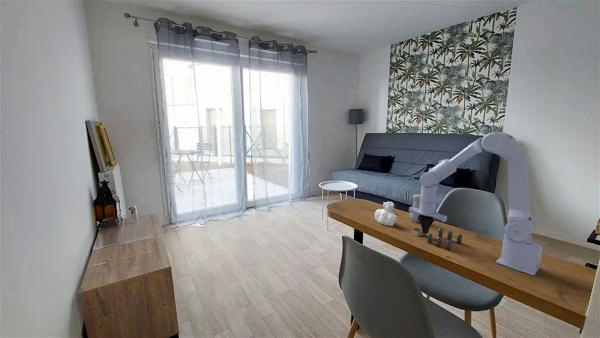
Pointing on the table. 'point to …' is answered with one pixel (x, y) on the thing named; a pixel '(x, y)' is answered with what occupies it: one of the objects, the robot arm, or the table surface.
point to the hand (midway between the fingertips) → (425, 233)
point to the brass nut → (416, 232)
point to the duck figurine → (386, 214)
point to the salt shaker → (416, 205)
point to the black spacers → (449, 239)
